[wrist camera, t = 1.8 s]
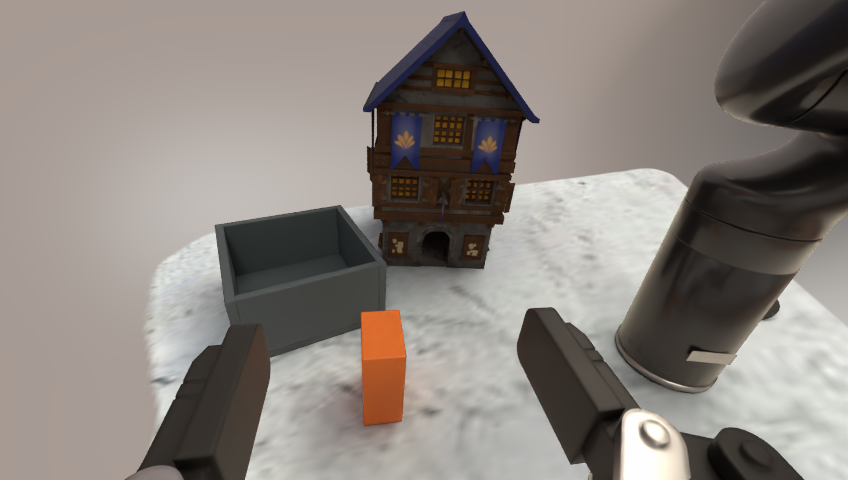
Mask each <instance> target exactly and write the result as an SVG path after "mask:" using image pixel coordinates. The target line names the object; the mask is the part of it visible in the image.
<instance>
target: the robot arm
mask: <svg viewBox="0 0 848 480" xmlns="http://www.w3.org/2000/svg"><path fill="white" fill-rule="evenodd" d="M714 87H715V88H714V89H715V91H714V92H715V96H716V100H717V102H718V104H719V105H720V107H721V108H722V110H724V111H725V112H726V113H727V114H729V115H730V116H732V117H734V118H737V119H739V120H742V121H744V122H747V123H751V124H756V125H762V126H769V127H771V126H772V127H777V128H786V129H794V130H799V132H798V133H797V134H796V135H795V136H794V137H793V138H792V139H791V140H790V141H789V142H787V143H786V144H784V145H782V146H781V147H778V148H776V149H774V150H772V151H769V152H766V153H763V154H760V155H756V156H753V157H748V158H744V159H737V160H731V161H725V162H718V163H714V164H710V165H708V166H706V167H704V168H702V169H701V170H700V171H699V172H698V173H697V175H696V176H695V177H694V179H693V181H692V183H691V185H690V187H689V189H688V191H687V193H686V196H685V197H684V199H683V201H682V203H681V205H680V207H679V209H678V211H677V213H676V215H675V217H674V219H673V221H672V224H671V226H670V228H669V230H668V232H667V234H666V236H665V238H664V240H663V242H662V244H661V246H660V248H659V250H658V252H657V254H656V256H655V258H654V260H653V262H652V264H651V266H650V268H649V270H648V272H647V274H646V276H645V278H644V280H643V282H642V284H641V286H640V288H639V290H638V292H637V294H636V297H635V299H634V301H633V303H632V305H631V306H630V308H629V310H628V312H627V314H626V316H625V318H624V320H623V322H622V324H621V325H620V326H619V328H618V330H617V332H616V337H615V339H616V344H617V347H618V349H619V351H620V352H621V354H622V355H623V357H624V358H625V359H626V360H627V361H628V362H629V363H630V364H631V365H632V366H633V367H634V368H635V369H636V370H637V371H639V372H640V373H641V374H643V375H644V376H646V377H648V378H649V379H651V380H653V381H654V382H656V383H658V384H661V385H663V386H665V387H668V388H671V389H674V390H677V391H682V392H690V393H697V392H703V391H706V390H708V389H709V388H710V387H711V386H712V385H713V384H714V383H715V381H716V380H717V377H718V375H719V374H720V373H721V371H722V370H723V369H724V367H725V366H726V365H730V364H731V363H732V361H733V360H734V359H735V358H736V356H737V355H735V353H736V352H737V351H738V349H739V348H740V347H741V346H742V344H743V343H744V342H745V340H746V339H747V338H748V336H749V335H750V334H751V332H752V331H753V330H754V329H755V327H756V326H757V325H758V323H759V322H760V321H761V319H765V318H768V317H771V316H773V315H775V314H776V313H777V312H778V311H779V308H780V305H779V301H778V299H777V298H778V297H779V296H780V294H781V293H782V292H783V291H784V289H785V288H786V287H787V285H788V284H789V283H790V281H791V280H792V279H793V277H794V276H795V275H796V273H797V272H798V271H799V270H800V268H801V266H802V265H803V264H804V263H805V261H806V260H807V258H808V257H809V256H810V255H811V254H812V252H813V251H814V250H815V248H816V247H817V246H818V244H819V243H820V242H821V240H822V239H823V238H824V237H825V236H826V235H827V233H828V232H829V231H830V229H831V228H832V227H833V226H834V225H835V223H837V222H838V221H839V220H840V219H842V218H843V217H845V216H846V215H848V0H765V1H764V2H763V3H762V4H761V5H760V6H759V7H758V8H757V9H756V11H755V12H754V13H753V14H752V15H751V16H750V17H749V18H748V19H747V21H746V22H745V23H744V24H743V26H742V27H741V28H740V30H739V31H738V32H737V33H736V35H735V36H734V38H733V39H732V40H731V42H730V44H729V45H728V47H727V49H726V51H725V52H724V54H723V56H722V58H721V61H720V63H719V65H718V68H717V71H716V76H715V82H714ZM517 353H518V358H519V361H520V363H521V365H522V367H523V369H524V371H525V373H526V375H527V377H528V379H529V381H530V383H531V385H532V387H533V389H534V391H535V393H536V396H537V398H538V400H539V402H540V404H541V406H542V408H543V410H544V412H545V414H546V416H547V418H548V420H549V422H550V424H551V426H552V428H553V430H554V432H555V434H556V436H557V438H558V440H559V442H560V444H561V446H562V448H563V450H564V452H565V454H566V456H567V458H568V460H569V462H570V464H571V465H572V464H579V463H586V464H587V466H588V468H589V469H590V471H591V472H590V474H589V476H588V480H804V479H803V478H802V477H801V476H800V475H799V474H798V473H797V472H796V471H795V469H794V468H793V467H792V466H791V465H790V464H789V463H788V462H787V461H786V460H785V459H784V458H783V457H782V456H781V455H780V454H779V453H778V452H777V451H776V450H775V449H774V448H773V447H772V446H771V445H769V444H768V443H767V442H765V441H764V440H762V439H761V438H759V437H758V436H756V435H754V434H752V433H750V432H747V431H745V430H742V429H739V428H731V427H729V428H724V429H722V430H721V431H720V432H719V433H718V435H717V436H716V437H715V438H714V439H711V438H706V437H702V436H697V435H692V434H687V433H682V432H678V430H677V429H676V428H675V427H674V426H673V425H672V424H671V423H669V422H668V421H667V420H666V419H664V418H663V417H661V416H659V415H658V414H656V413H654V412H651V411H648V410H645V409H641V408H640V407H639V405H638V404H637V403H636V401H635V400H634V399H633V397H632V396H631V395H630V394H629V392H628V391H627V390H626V388H625V387H624V386H623V384H622V383H621V382H620V380H619V379H618V378H617V376H616V375H615V374H614V372H613V371H612V370H611V368H610V367H609V366H608V364H607V363H606V362H604V361H603V358H602V356H601V355H600V354H599V352H598V351H596V350H595V347H594V346H593V344H592V343H591V342H590V340H589V339H588V338H587V336H586V335H585V334H584V333H583V332H581V331H580V330H579V329H577V328H576V327H575V326H574V325H572V324H571V323H565V322H564V321H563V319H562V318H561V316H560V315H559V314H558V312H557V311H556V310H555V309H554V308H552V307H549V308H531V309H528V310H527V312H526V314H525V318H524V321H523V325H522V328H521V332H520V335H519V339H518V342H517ZM269 379H270V358H269V353H268V348H267V344H266V339H265V334H264V329H263V326H262V324H261V323H254V324H236V325H231V326H230V327H229V329H228V331H227V333H226V335H225V338H224V340H223V342H222V345H212V346H208V347H207V348H206V349H205V350H204V351H203V352H202V353H201V354H200V355H199V356H198V357H197V358H196V359H195V360H194V361H193V362H192V364H191V366H190V368H189V370H188V372H187V374H186V376H185V378H184V380H183V384H181V386H180V388H179V390H178V392H177V394H176V399H175V400H173V402H172V404H171V406H170V408H169V410H168V412H167V414H166V416H165V418H164V420H163V422H162V424H161V426H160V428H159V430H158V432H157V434H156V436H155V438H154V440H153V442H152V444H151V446H150V448H149V450H148V452H147V454H146V456H145V458H144V460H143V462H142V464H141V466H140V467H139V469H138V470H137V472H136V473H134V474H133V475H131V476H129V477H128V478H126V479H125V480H245V477H246V473H247V469H248V465H249V461H250V456H251V452H252V448H253V444H254V440H255V436H256V432H257V428H258V424H259V420H260V416H261V412H262V408H263V404H264V400H265V396H266V392H267V388H268V384H269Z"/></svg>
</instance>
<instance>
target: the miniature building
mask: <svg viewBox="0 0 848 480" xmlns="http://www.w3.org/2000/svg"><path fill="white" fill-rule="evenodd" d="M375 108H377V138H376V142H375V148H374V109H375ZM363 111H364V112H371V111H372V147H371V148H370V147H368V146H367V172H368V173H370V180H371V182H372V206H373V207H374V219H380V220H381V221H382V223H383V233H380V236H379V244H378V247H379V248H380V249H382V252H383V260H384V261H385V262H386V265H392V266H442V267H456V268H484V265H485V260H486V255H487V251H488V250H489V248H488V244H489V239H490V234H491V229H492V227H494V225H495V224H499V225H503V221H504V215H503V213H502V212H504V213H507V212H509V209H510V205H511V200H512V196H513V191H514V186H515V183H510V182H509V181H510V180H511V177H512V176H511V175H510V173H514V169H515V164H516V163H515V162H514V159H515V158H516V150H517V145H518V140H519V136H520V131H521V127H522V122H523V121H524V120H526V119H528V120H529V121H530V122H532V123H539V120H540V119H538V118H537V117H536V116H535V115H534V114H533V112H532V111H531V110H530V108H529V107H528V105H527V104H526V102H525V101H524V100H523V98H522V97H521V95H520V94H519V92H518V91H517V90H516V88H515V87H514V85H513V84H512V82H511V81H510V80H509V78H508V77H507V75H506V74H505V72H504V71H503V70H502V68H501V67H500V65H499V64H498V63H497V61H496V59H495V58H494V57H493V55H492V54H491V52H490V51H489V49H488V48H487V47H486V45H485V44H484V43H483V41H482V39H481V38H480V37H479V35H478V34H477V32H476V31H475V29H474V28H473V27H472V25H471V24H470V22H469V21H468V18H467V16H466V13H465V11H463V12H459V13H456V14H452V15H449V16H446V17H444V18H443V19H442V20H441V22H440V23H439V24H438V25H437V26H436V27H435V28H434V29H433V30H432V31H431V32H430V33H429V34H428V35H427V36H426V37H425V38H424V39H423V40H422V41H420V42H419V43H418V44H417V45H416V46H415V47H414V48H413V49H412V50H411V51H410V52H409V53H408V54H407V55H406V56H405V57H404V58H403V59H402V60H401V61H400V62H399V63H398V64H397V65H396V66H394V67H393V68H392V69H391V70H390V71H389V72H388V73H387V74H386V75H385V76H384V77H383V78H382V79H381V80H380V81H379V82H376V83H375V85H374V88H373V89H372V91H371V93H370V95H369V97H368V99H367V101H366V103H365V105H364V107H363ZM377 174H378V175H377ZM506 199H507V200H506ZM505 204H506V205H505ZM504 209H505V210H504Z"/></svg>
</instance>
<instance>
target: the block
mask: <svg viewBox="0 0 848 480" xmlns="http://www.w3.org/2000/svg"><path fill="white" fill-rule="evenodd" d="M361 345H362V384H363V419H364V425H372V424H380V423H389V422H397V421H402V414H403V399H404V384H405V369H406V351H405V344H404V338H403V331H402V325H401V318H400V312H399V310H389V311H373V312H361Z"/></svg>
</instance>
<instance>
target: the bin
mask: <svg viewBox="0 0 848 480" xmlns="http://www.w3.org/2000/svg"><path fill="white" fill-rule="evenodd" d="M215 231H216V239H217V247H218V254H219V262H220V270H221V278H222V286H223V294H224V301H225V306H226V310H227V313H228V317H229V320H230V323H231V325H236V324H254V323H261V324H262V326H263V329H264V334H265V339H266V344H267V348H268V353H269V358H270V357H273V356H276V355H279V354H282V353H285V352H288V351H291V350H294V349H297V348H300V347H303V346H306V345H309V344H312V343H315V342H318V341H321V340H324V339H327V338H330V337H333V336H336V335H339V334H342V333H345V332H348V331H351V330H354V329H357V328H361V312H373V311H385V299H386V262H385V261H384V260H383V258H382V257H381V256H380V255H379V253H378V252H377V251H376V250H375V248H374V247H373V246H372V244H371V243H370V242H369V241H368V239H367V238H366V237H365V236H364V234H363V233H362V232H361V230H360V229H359V228H358V227H357V225H356V224H355V223H354V221H353V220H352V219H351V218H350V216H349V215H348V214H347V213H346V211H345V210H344V209H343V207H342V206H341V205H338V206H332V207H327V208H319V209H313V210H307V211H301V212H294V213H288V214H282V215H275V216H269V217H263V218H257V219H250V220H244V221H238V222H231V223H225V224H218V225H215Z"/></svg>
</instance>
